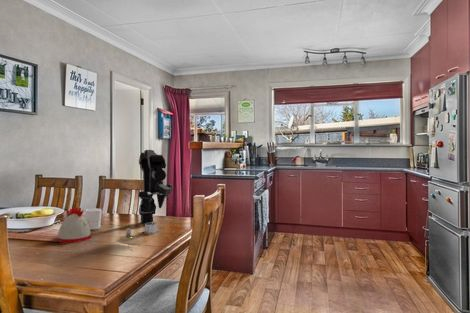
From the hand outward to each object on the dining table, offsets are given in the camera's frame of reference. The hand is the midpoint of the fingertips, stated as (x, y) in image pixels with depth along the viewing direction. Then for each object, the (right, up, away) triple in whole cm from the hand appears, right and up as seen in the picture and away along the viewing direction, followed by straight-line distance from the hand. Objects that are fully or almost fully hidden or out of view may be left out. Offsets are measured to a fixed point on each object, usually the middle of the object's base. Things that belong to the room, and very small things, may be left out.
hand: (154, 209), depth 155 cm
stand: (-2, -13, 0) cm, 13 cm away
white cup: (-35, -12, +7) cm, 37 cm away
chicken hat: (-35, -12, -12) cm, 39 cm away
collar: (-2, -12, 0) cm, 12 cm away
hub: (-10, -12, -10) cm, 19 cm away
